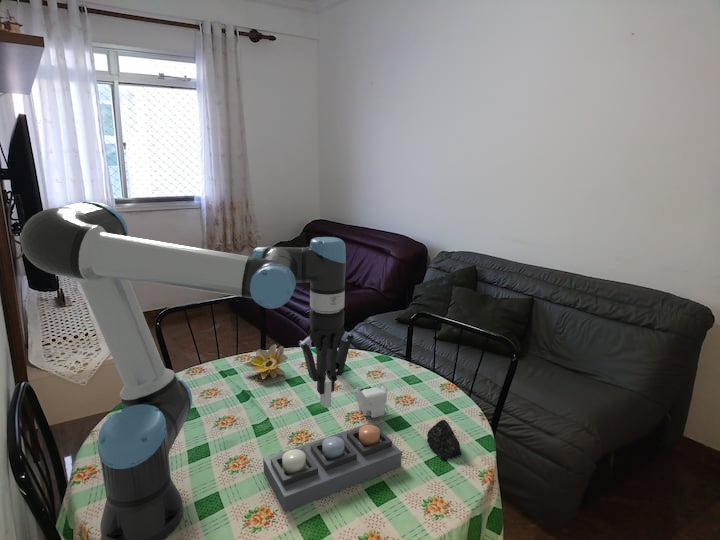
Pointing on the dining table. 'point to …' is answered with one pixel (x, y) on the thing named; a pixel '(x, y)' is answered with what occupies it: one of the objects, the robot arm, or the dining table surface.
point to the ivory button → (293, 461)
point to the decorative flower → (268, 361)
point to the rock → (443, 441)
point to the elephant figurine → (372, 400)
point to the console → (330, 469)
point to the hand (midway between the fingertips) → (325, 404)
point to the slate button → (333, 447)
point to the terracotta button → (369, 435)
